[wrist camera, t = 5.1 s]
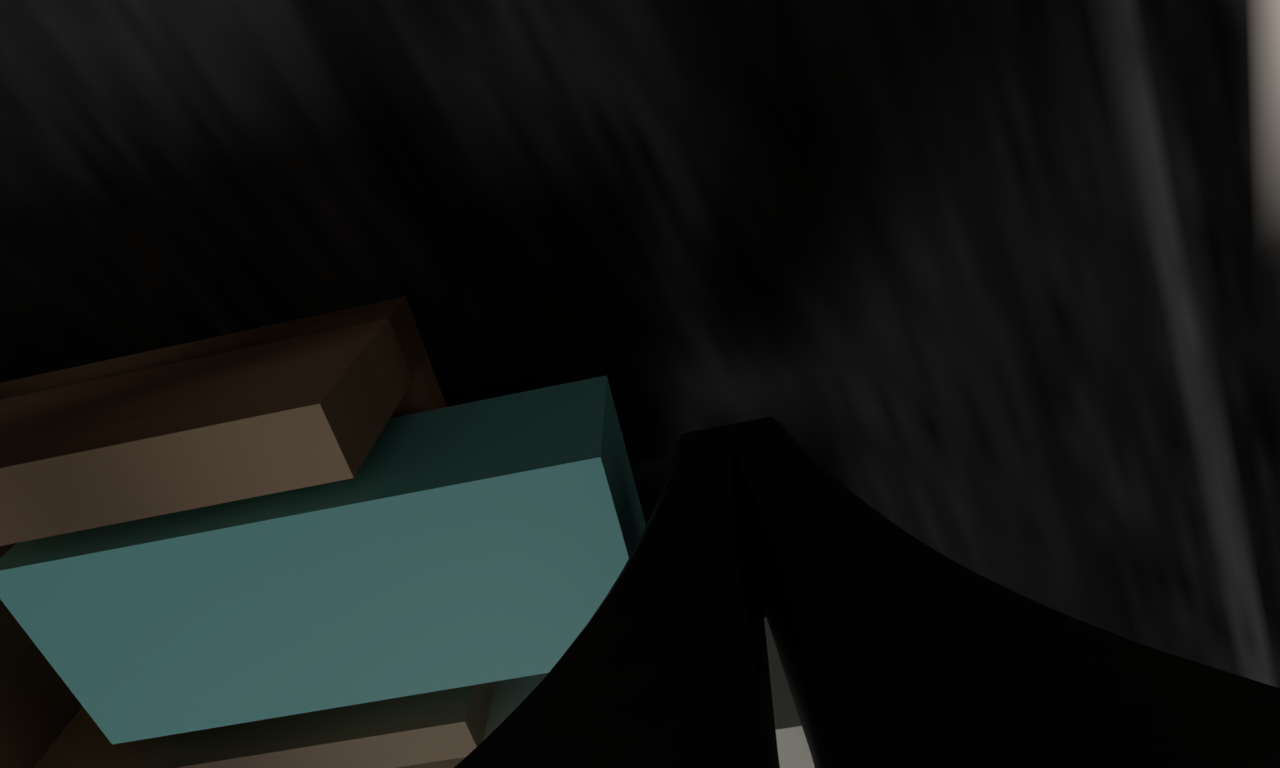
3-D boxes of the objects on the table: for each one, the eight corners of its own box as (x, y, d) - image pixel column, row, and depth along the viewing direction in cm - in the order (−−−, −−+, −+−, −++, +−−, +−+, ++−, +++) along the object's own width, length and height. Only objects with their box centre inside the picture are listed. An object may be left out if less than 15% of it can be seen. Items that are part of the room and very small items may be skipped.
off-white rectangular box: (798, 611, 13) (829, 721, 11) (820, 738, 14) (849, 856, 12) (351, 686, 13) (302, 802, 11) (412, 800, 15) (378, 921, 13)
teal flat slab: (607, 375, 11) (600, 457, 9) (652, 550, 12) (656, 654, 10) (92, 477, 11) (-19, 574, 9) (192, 632, 13) (111, 744, 11)
